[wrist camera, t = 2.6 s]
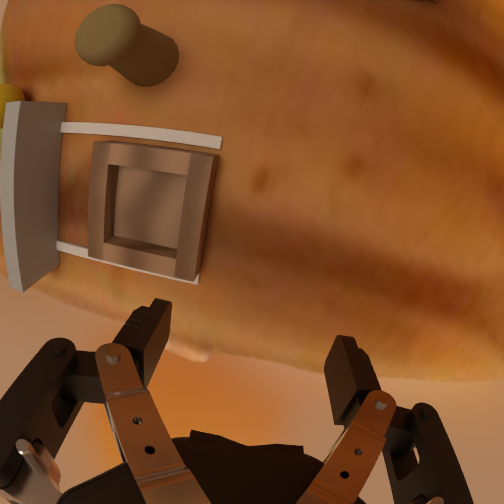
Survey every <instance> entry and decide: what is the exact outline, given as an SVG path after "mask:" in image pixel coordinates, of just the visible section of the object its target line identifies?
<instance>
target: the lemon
mask: <svg viewBox="0 0 504 504" xmlns="http://www.w3.org/2000/svg"><path fill="white" fill-rule="evenodd" d="M15 101H25V98H24V94H23V92H22V91H21V89H20V88H19V87H17V86H15V85H13V84H0V128H3V124H4V116H5V108H6V103H7V102H15Z"/></svg>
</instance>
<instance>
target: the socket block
mask: <svg viewBox="0 0 504 504" xmlns="http://www.w3.org/2000/svg"><path fill="white" fill-rule="evenodd" d="M218 157H219V155H215V154H209V153H203V152H197V151H190V150H184V149H177V148H170V147H162V146H154V145H146V144H137V143H128V142H118V141H97V142H94V143H93V152H92V161H91V172H90V186H89V205H88V257H92V258H96V259H99V260H103V261H107V262H111V263H115V264H119V265H123V266H127V267H131V268H136V269H140V270H144V271H148V272H152V273H157V274H161V275H165V276H170V277H174V278H178V279H183V280H187V281H192V282H194V281H195V279H196V276H197V274H198V272H199V270H200V266H201V259H202V252H203V246H204V239H205V233H206V226H207V220H208V214H209V208H210V202H211V196H212V190H213V184H214V179H215V173H216V168H217V162H218Z"/></svg>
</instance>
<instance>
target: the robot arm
mask: <svg viewBox="0 0 504 504" xmlns="http://www.w3.org/2000/svg"><path fill="white" fill-rule="evenodd" d="M432 1H434V2H436V3H438V2H440V1H441V0H432ZM171 310H172V302H170V301H166V300H162V299H158V298H155V299H154V301H153V302H152V304H151V305H150V307H145V306H141V307H139V308H138V309H136V310H134V311H133V313H132V314H131V315H130V317H129V319H128V320H127V321H126V323H125V325H124V326H123V327H122V328H121V330H120V332H119V333H118V334H117V336H116V337H115V339H114V340H113V342H112V343H108V344H104V345H102V346H100V347H99V348H98V349H97V350H96V352H88V351H78V350H76V348H75V345H74V343H73V342H72V341H70V340H68V339H66V338H54V339H51V340H49V341H48V342H46V343H45V344H44V346H43V347H42V348H41V349H40V350H39V352H38V353H37V354H36V355H35V356H34V358H33V359H32V360H31V361H30V362H29V364H28V365H27V366H26V367H25V369H24V370H23V371H22V372H21V374H20V375H19V376H18V377H17V379H16V380H15V381H14V383H13V384H12V385H11V386H10V388H9V389H8V391H7V392H6V393H5V395H4V396H3V397H2V398H1V400H0V496H2V497H3V498H5V499H6V500H7V501H9V502H10V503H11V504H366V503H365V502H364V501H363V500H362V499H361V498H360V497H358V495H359V493H360V492H361V490H362V488H363V486H364V484H365V482H366V480H367V479H368V477H369V475H370V473H371V471H372V469H373V467H374V465H375V463H376V461H377V459H378V457H379V455H380V453H381V451H382V452H383V456H384V460H385V464H386V468H387V472H388V477H389V481H390V485H391V490H392V494H393V499H394V504H474V503H473V500H472V497H471V494H470V491H469V488H468V486H467V483H466V480H465V477H464V475H463V472H462V470H461V467H460V464H459V462H458V459H457V457H456V454H455V452H454V449H453V447H452V445H451V442H450V440H449V438H448V435H447V433H446V431H445V428H444V426H443V424H442V422H441V419H440V417H439V415H438V413H437V411H436V410H435V409H434V408H433V407H432V406H431V405H429V404H426V403H417V404H415V405H414V407H413V408H412V409H411V410H410V409H406V408H403V407H399V406H396V402H395V400H394V398H393V397H392V396H391V395H390V394H388V393H386V392H384V391H382V390H381V387H380V385H379V382H378V380H377V377H376V374H375V372H374V369H373V366H372V365H371V361H370V359H369V356H368V355H367V354H366V353H365V352H364V351H363V349H361V348H358V346H357V343H356V341H355V338H354V337H350V336H343V335H338V336H337V337H336V338H335V341H334V343H333V345H332V347H331V350H330V352H329V354H328V356H327V359H326V361H325V366H324V373H325V378H326V383H327V388H328V393H329V398H330V403H331V408H332V414H333V419H334V424H335V425H344V430H343V432H342V433H341V435H340V436H339V437H338V439H337V441H336V442H335V444H334V445H333V446H332V448H331V449H330V451H329V452H328V454H327V455H326V457H325V458H324V459H323V461H322V462H321V461H319V460H318V459H316V458H314V457H312V456H309V455H307V454H304V450H303V446H296V445H284V444H269V445H258V446H246V445H243V444H240V443H237V442H235V441H232V440H229V439H227V438H224V437H222V436H219V435H214V434H209V433H204V432H199V431H195V430H191V432H190V437H179V438H172V439H171V438H170V436H169V434H168V432H167V430H166V427H165V425H164V423H163V421H162V419H161V417H160V415H159V413H158V410H157V408H156V406H155V404H154V401H153V399H152V397H151V395H150V392H149V390H148V389H147V386H148V384H149V382H150V379H151V377H152V375H153V372H154V370H155V368H156V365H157V363H158V361H159V359H160V357H161V354H162V352H163V350H164V348H165V345H166V343H167V341H168V337H169V333H170V323H171ZM84 402H91V403H101V404H104V405H105V409H106V413H107V416H108V419H109V423H110V425H111V429H112V432H113V435H114V438H115V441H116V445H117V448H118V451H119V454H120V457H121V459H122V462H123V463H121V464H120V465H118V466H116V467H114V468H112V469H110V470H108V471H106V472H104V473H102V474H100V475H98V476H96V477H94V478H92V479H90V480H88V481H85V482H83V483H81V484H79V485H77V486H75V487H72V488H70V489H69V490H67V491H66V492H64V493H63V494H62V493H61V492H60V489H59V482H60V477H61V473H60V469H59V467H58V465H57V464H56V462H55V461H54V459H55V457H56V454H57V452H58V451H59V449H60V447H61V445H62V443H63V441H64V439H65V437H66V435H67V433H68V431H69V429H70V427H71V425H72V424H73V422H74V420H75V418H76V416H77V414H78V412H79V411H80V409H81V407H82V405H83V403H84ZM415 447H416V448H417V451H418V454H419V459H420V461H419V464H418V462H417V459H416V456H415V453H414V450H413V449H414V448H415Z"/></svg>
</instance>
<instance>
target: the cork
mask: <svg viewBox="0 0 504 504" xmlns="http://www.w3.org/2000/svg"><path fill="white" fill-rule="evenodd" d="M75 45H76V51H77V53H78V54H79V56H80V58H81V59H83V60H84V61H85V62H87V63H89V64H91V65H96V66H107V65H109V66H111V67H112V68H113V69H115V70H116V71H118V72H119V73H120V74H122V75H123V76H124V77H126V78H127V79H128V80H130V81H131V82H133V83H134V84H136V85H139V86H143V87H145V86H153V85H156V84H158V83H161V82H162V81H164V80H165V79H166V78H168V77H169V76H170V74H171V73H172V72H173V71H174V69H175V67H176V65H177V62H178V56H179V51H178V48H177V45H176V43H175V42H174V41H173V39H171V38H169V37H168V36H166V35H164V34H162V33H160V32H158V31H156V30H154V29H151V28H149V27H147V26H145V25H143V24H141V23H140V20H139V17H138V16H137V15H136V13H135V12H134V11H133V10H132V9H130V8H128V7H126V6H124V5H119V4H111V5H107V6H103V7H100V8H98V9H96V10H94V11H93V12H91V13H90V14H89V15H88V16H87V17H86V18H85V19H84V20H83V22H82V23H81V24H80V26H79V28H78V30H77V33H76V38H75Z"/></svg>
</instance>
